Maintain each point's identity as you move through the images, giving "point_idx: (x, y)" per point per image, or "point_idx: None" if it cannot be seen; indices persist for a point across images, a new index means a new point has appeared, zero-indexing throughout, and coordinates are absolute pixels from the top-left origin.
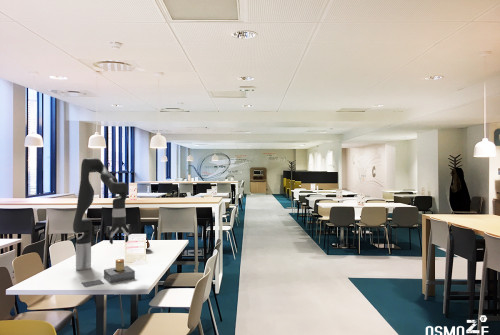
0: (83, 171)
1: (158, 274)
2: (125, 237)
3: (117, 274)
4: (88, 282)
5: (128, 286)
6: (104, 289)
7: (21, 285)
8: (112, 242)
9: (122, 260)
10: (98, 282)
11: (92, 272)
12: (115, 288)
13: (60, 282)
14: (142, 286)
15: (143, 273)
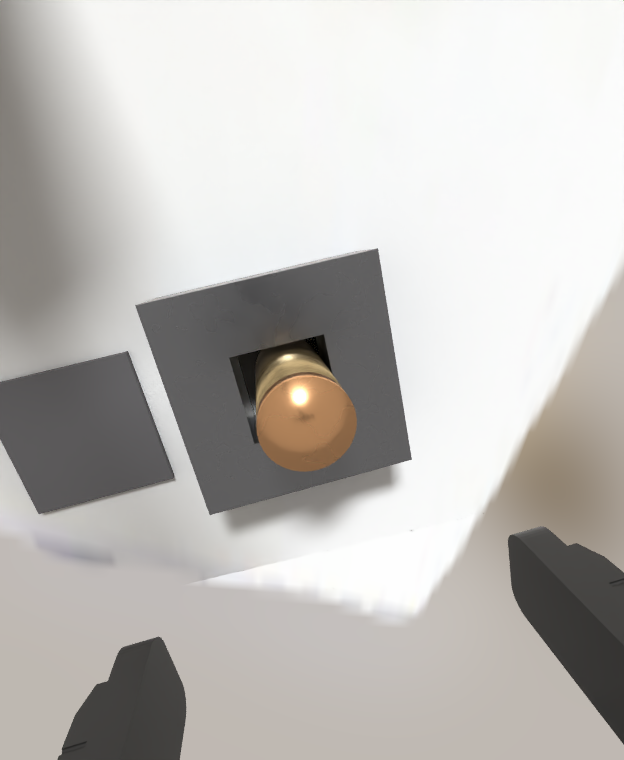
0: None
1: (560, 373)
2: (608, 660)
3: (268, 496)
4: (38, 408)
5: (330, 556)
6: (182, 570)
7: None
8: (172, 751)
9: (334, 454)
10: (124, 435)
11: (7, 29)
12: (251, 570)
13: None
14: (406, 577)
15: (475, 302)
